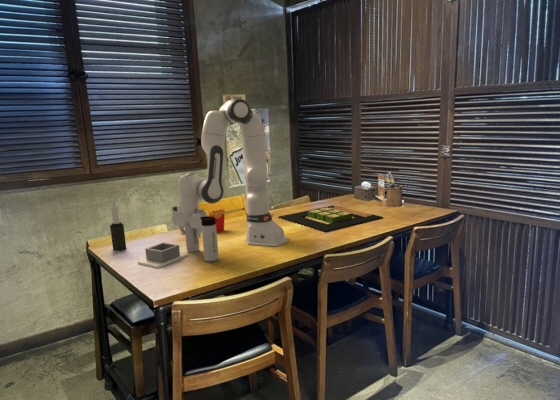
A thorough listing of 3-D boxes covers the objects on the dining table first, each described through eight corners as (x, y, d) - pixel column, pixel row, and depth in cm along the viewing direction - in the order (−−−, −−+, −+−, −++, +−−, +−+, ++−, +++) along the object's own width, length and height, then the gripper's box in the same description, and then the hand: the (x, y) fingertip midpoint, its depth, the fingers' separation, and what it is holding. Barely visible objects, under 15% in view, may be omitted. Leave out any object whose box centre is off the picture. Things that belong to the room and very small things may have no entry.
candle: (118, 251, 198) (112, 201, 193) (112, 250, 200) (105, 200, 195) (127, 248, 202) (121, 199, 197) (120, 247, 204) (114, 198, 200)
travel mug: (204, 258, 181) (200, 215, 178) (219, 257, 182) (215, 214, 178) (203, 263, 175) (199, 219, 171) (218, 262, 176) (214, 218, 172)
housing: (188, 255, 187) (187, 243, 185) (158, 268, 172) (156, 255, 170) (168, 251, 193) (167, 239, 192) (137, 263, 178) (136, 250, 177)
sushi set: (383, 219, 239) (383, 212, 238) (325, 234, 215) (325, 226, 214) (332, 207, 276) (332, 201, 275) (278, 219, 251) (278, 212, 250)
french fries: (211, 233, 222) (209, 210, 220) (209, 231, 226) (207, 209, 223) (227, 230, 226) (225, 208, 224) (224, 229, 230) (223, 207, 228)
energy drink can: (190, 248, 197) (188, 219, 194) (201, 249, 195) (199, 219, 192) (184, 252, 191) (181, 222, 188) (195, 253, 189) (193, 222, 186)
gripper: (210, 208, 186) (212, 237, 189) (178, 204, 196) (180, 232, 199) (200, 211, 181) (202, 240, 183) (168, 207, 191) (171, 235, 194)
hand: (190, 236), depth 191 cm, fingers open, 8 cm apart
